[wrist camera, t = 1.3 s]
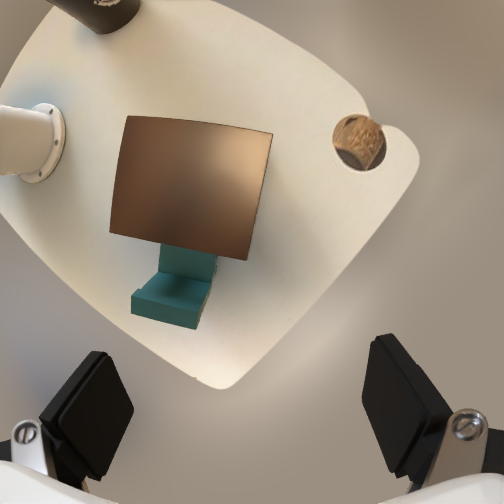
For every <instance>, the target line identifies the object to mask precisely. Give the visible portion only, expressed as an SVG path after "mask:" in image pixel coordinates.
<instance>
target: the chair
mask: <svg viewBox="0 0 504 504" xmlns="http://www.w3.org/2000/svg"><path fill="white" fill-rule="evenodd" d="M216 257H217V255H215V254H210V253H205V252H200V251H195V250H190V249H185V248H181V247H176V246H171V245H166V244H161V248H160V257H159V267H158V272H157V273H156V274H155V275H154V276H153V277H152V278H151V279H150V280H149V281H148V282H147V283H146V284H145V285H144V286H143V287H142V288H141V289H137V290H136V291H135V292H134V293H133V294H132V295H131V313H132V314H135V315H139V316H142V317H146V318H150V319H153V320H157V321H161V322H165V323H169V324H173V325H177V326H181V327H185V328H190V329H194V330H196V329H197V326H198V324H199V321H200V317H201V314H202V312H203V309H204V307H205V304H206V302H207V299H208V296H209V294H210V290H211V287H212V281H213V278H214V275H215V273H216V269H217V266H215V263H216Z"/></svg>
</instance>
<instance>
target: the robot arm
mask: <svg viewBox="0 0 504 504" xmlns="http://www.w3.org/2000/svg"><path fill="white" fill-rule="evenodd" d="M64 140H65V124H64V119H63V116H62V113H61V112H60V110H59V109H58V108H57V107H55V106H54V105H51V104H46V103H44V104H39V105H37V106H35V107H33V108H32V109H31V110H26V109H21V108H15V107H10V106H4V105H0V176H2V175H13V174H17V175H18V176H19V177H20V178H21V179H22V180H23V181H24V182H27V183H36V182H40V181H42V180H44V179H45V178H46V177H48V176H49V175H50V173H51V172H52V171H53V170H54V168H55V166H56V165H57V163H58V161H59V158H60V156H61V153H62V150H63V145H64ZM362 403H363V406H364V408H365V411H366V413H367V416H368V418H369V421H370V423H371V426H372V428H373V430H374V433H375V436H376V438H377V441H378V443H379V446H380V448H381V451H382V454H383V456H384V459H385V462H386V464H387V467H388V469H389V471H390V472H391V473H395V475H396V478H400V477H403V476H406V475H408V477H409V479H410V481H411V483H410V485H409V488H408V490H407V492H406V494H405V495H402V496H399V497H396V498H394V499H390V500H387V501H384V502H381V503H377V504H504V431H503V430H497V429H491V428H488V422H487V419H486V417H485V416H484V415H483V414H482V413H480V412H479V411H477V410H474V409H462V410H459V411H457V412H455V413H453V412H452V410H451V409H450V407H449V406H448V404H447V403H446V401H445V400H444V399H443V397H442V396H441V394H440V393H439V392H438V391H437V389H436V387H435V386H434V385H433V384H432V382H431V381H430V379H429V378H428V377H427V375H426V374H425V373H424V371H423V370H422V369H421V367H420V366H419V365H418V364H416V363H415V362H414V360H413V359H412V358H411V356H410V355H409V354H408V353H407V351H406V350H405V348H404V347H403V346H402V345H401V343H400V342H399V341H398V340H397V338H396V337H395V336H394V335H393V334H392V333H390V334H385V335H380V336H377V337H376V338H375V341H372V342H371V345H370V351H369V358H368V365H367V370H366V376H365V382H364V387H363V392H362ZM133 413H134V407H133V405H132V402H131V400H130V398H129V396H128V394H127V392H126V390H125V388H124V386H123V383H122V381H121V379H120V377H119V374H118V372H117V370H116V367H115V365H114V362H113V360H112V358H111V357H110V356H108V354H107V353H106V352H100V351H92V352H90V353H89V355H88V356H87V357H86V358H85V359H84V361H83V362H82V363H81V364H80V365H79V367H78V368H77V369H76V370H75V371H74V373H73V374H72V375H71V376H70V378H69V379H68V380H67V381H66V383H65V384H64V385H63V386H62V388H61V389H60V390H59V392H58V393H57V394H56V395H55V397H54V398H53V399H52V400H51V402H50V403H49V404H48V406H47V407H46V408H45V410H44V411H43V412H42V414H41V415H40V416H39V419H40V420H41V422H42V425H41V426H40V425H39V424H38V422H36V421H34V420H31V419H27V420H23V421H21V422H19V423H18V424H16V425H15V427H14V428H13V430H12V432H11V439H10V440H7V441H3V442H0V504H119V503H116V502H112V501H109V500H106V499H103V498H100V497H97V496H94V495H92V494H90V493H89V490H88V488H87V485H86V482H85V477H86V476H87V477H88V478H91V479H93V480H97V481H101V478H102V476H104V475H106V473H107V471H108V469H109V466H110V464H111V462H112V459H113V457H114V455H115V452H116V450H117V448H118V446H119V443H120V442H121V439H122V437H123V435H124V433H125V431H126V428H127V426H128V424H129V422H130V420H131V417H132V415H133Z"/></svg>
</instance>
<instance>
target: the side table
mask: <svg viewBox="0 0 504 504" xmlns="http://www.w3.org/2000/svg"><path fill="white" fill-rule="evenodd" d="M272 138H273V134H271V133H266V132H261V131H256V130H251V129H246V128H240V127H234V126H228V125H221V124H215V123H208V122H200V121H192V120H183V119H172V118H161V117H146V116H127V119H126V123H125V128H124V132H123V137H122V142H121V147H120V152H119V158H118V164H117V170H116V177H115V183H114V191H113V199H112V208H111V218H110V230H109V232H110V233H114V234H119V235H123V236H128V237H133V238H138V239H142V240H147V241H152V242H157V243H161V244H166V245H171V246H176V247H181V248H185V249H190V250H195V251H200V252H205V253H210V254H215V255H220V256H224V257H229V258H234V259H239V260H244V261H247V257H248V252H249V248H250V243H251V238H252V233H253V228H254V224H255V219H256V214H257V209H258V205H259V200H260V195H261V190H262V185H263V181H264V176H265V171H266V166H267V162H268V157H269V152H270V148H271V143H272Z"/></svg>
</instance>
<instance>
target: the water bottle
mask: <svg viewBox="0 0 504 504" xmlns="http://www.w3.org/2000/svg"><path fill="white" fill-rule="evenodd" d="M47 1H49V2H50V3H52V4H53V5H55V6H57V7H58V8H60V9H61V10H63V11H65V12H66V13H68V14H69V15H71V16H72V17H74V18H75V19H77V20H78V21H80V22H81V23H83V24H84V25H86V26H87V27H88V28H90V29H91V30H93V31H94V32H96V33H98V34H107V33H111V32H114V31H116V30H118V29H120V28H121V27H123V26H124V25H126V24H127V23H128V22H129V21H130V20H131V19H132V18H133V17H134V16H135V14H136V13H137V11H138V9H139V6H140V0H47Z"/></svg>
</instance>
